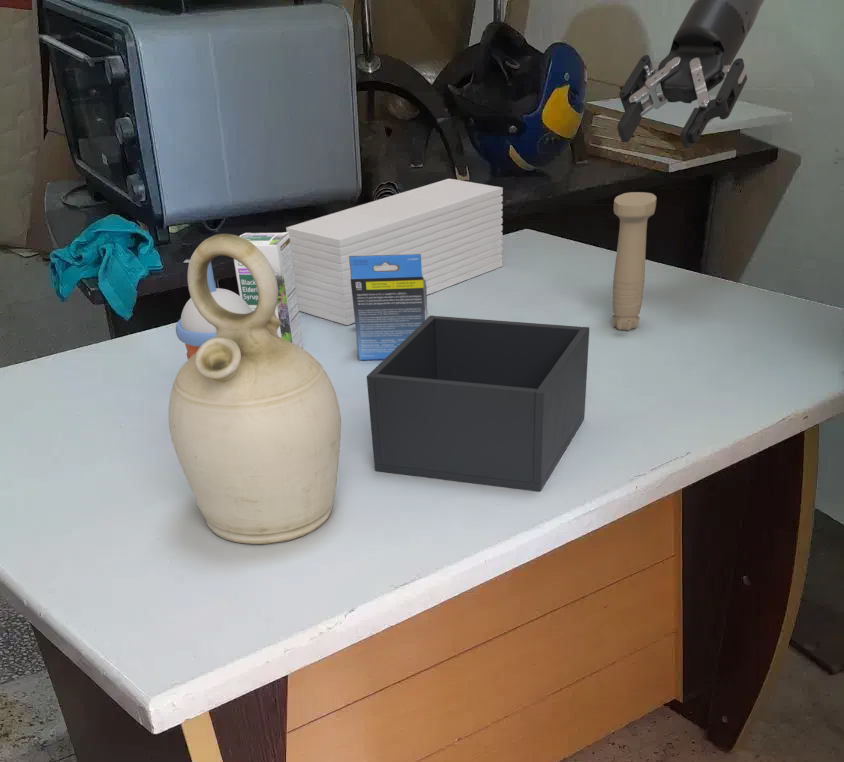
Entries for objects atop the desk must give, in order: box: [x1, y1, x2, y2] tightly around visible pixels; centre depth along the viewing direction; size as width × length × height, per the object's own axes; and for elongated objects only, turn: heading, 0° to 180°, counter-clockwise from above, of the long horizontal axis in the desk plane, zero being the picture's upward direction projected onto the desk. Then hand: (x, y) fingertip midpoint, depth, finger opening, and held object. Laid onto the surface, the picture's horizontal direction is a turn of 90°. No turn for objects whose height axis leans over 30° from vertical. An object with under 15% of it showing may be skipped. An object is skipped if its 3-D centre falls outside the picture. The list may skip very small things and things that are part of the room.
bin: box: [366, 315, 590, 492], centre depth 104 cm, size 18×18×10 cm
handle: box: [612, 191, 657, 331], centre depth 126 cm, size 5×6×15 cm
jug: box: [168, 233, 342, 545], centre depth 90 cm, size 15×16×25 cm
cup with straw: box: [175, 261, 253, 360], centre depth 110 cm, size 9×9×18 cm
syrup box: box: [233, 231, 304, 349], centre depth 124 cm, size 6×6×14 cm
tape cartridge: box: [349, 254, 429, 361], centre depth 124 cm, size 9×4×12 cm, turn 84°
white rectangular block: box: [285, 178, 504, 326], centre depth 145 cm, size 32×11×11 cm, turn 136°
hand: (652, 139), depth 120 cm, fingers open, 8 cm apart
